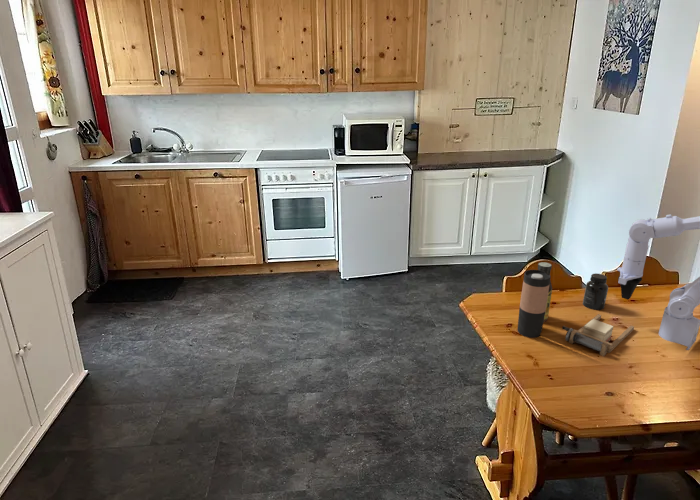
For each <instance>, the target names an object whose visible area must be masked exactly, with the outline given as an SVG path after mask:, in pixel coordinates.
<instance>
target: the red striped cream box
mask: <svg viewBox="0 0 700 500" xmlns="http://www.w3.org/2000/svg"><path fill="white" fill-rule="evenodd" d="M590 320H591V321H590ZM590 320H589V321H590V322H589V321H588V322H589V323H588V322H586V323H585V324H586V325H585V324H584V325H585V326H584V325H583V326H584V331H583V333H585V334H588V335H590V336H593V337H595V338H598V339H601V340H603V341H606V342H609V343H610V341H611V339H612V334H613V329H614V325H611V324H608V323H606V322H603V321H600V320H595V319H593V318H591V319H590Z"/></svg>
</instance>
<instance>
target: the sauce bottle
mask: <svg viewBox="0 0 700 500" xmlns="http://www.w3.org/2000/svg"><path fill="white" fill-rule="evenodd" d="M552 267H553V266H552V264H551V263H550V262H542V261H541V262H538V264H537V270H541V271H544V272H545V273H546V274H547V275H550V276H551V270H552ZM552 293H553V286H552V281H551V280H550V285H549V291H548V298H547V305H546V312H545V317H544V322H543V323H546V322H547V321H548V318H549V313H550V307H551V300H552Z"/></svg>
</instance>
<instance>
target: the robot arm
mask: <svg viewBox="0 0 700 500" xmlns="http://www.w3.org/2000/svg"><path fill="white" fill-rule="evenodd" d="M694 230H700V215H699V216H693V217H688V218H687V217H686V218H682V217H679V216H677V215H672V214H671V213H670V214H666V215H665V217H659V218H651V217H648V218H647V219H643V218H641V219H637V220H635V221H634V222H633V223H632V224H631V225H630V228H629V230H628V235H629V237H628V238H627V243H626V247H625V252H624V256H623V260H622V261H623V262H622V265H621V267H619V266H618V268H617V269H616V271H617V272H619V276H618V284H620V291H621V292H620V294H621V299H625V300H630V299H631V298H632V297H633V294H634V292H635V289H636V288H637V287H638V285H639V284H640V283H641V282H642V280H643V275H644V268H645V263H646V259H647V255H648V251H649V247H650V246H649V242H650V239H659V238H667V237H676V236H680V235H682V233H683V232H684V231H694ZM699 305H700V276H698V277H697V278H695V280H693V281H692V282H689V283H686V284H685V285H684V286H681V287H677V288H674V289H673V290H672V291H670V294H669V301H668V304H667V306H666V307H664V310H663V314H662V319H661V323H660V326H659V330H658V336H659V337H660V338H662V340H665V341H667V342H671V343H675V344H678V345H683V346H685V347H686V348H685V350H686V351H690V349H691V348H692V347H693V345H694V344H695V343H696V341H697V336H698V333H699V329H700V319H699V318H698V317H695V316H694V310H695V309H696V307H698V306H699Z"/></svg>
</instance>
